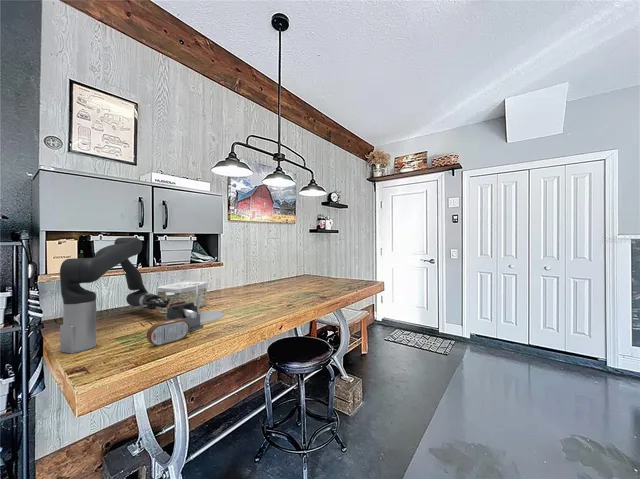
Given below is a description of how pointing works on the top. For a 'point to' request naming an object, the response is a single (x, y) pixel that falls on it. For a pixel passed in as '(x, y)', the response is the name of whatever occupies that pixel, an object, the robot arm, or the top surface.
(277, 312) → the top surface
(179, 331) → the tin
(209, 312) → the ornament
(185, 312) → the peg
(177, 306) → the block
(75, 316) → the robot arm
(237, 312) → the top surface
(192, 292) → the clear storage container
